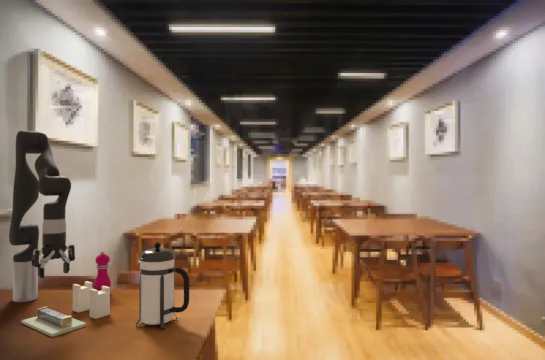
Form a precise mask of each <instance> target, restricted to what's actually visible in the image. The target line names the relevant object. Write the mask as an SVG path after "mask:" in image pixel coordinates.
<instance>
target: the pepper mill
mask: <svg viewBox="0 0 545 360" xmlns="http://www.w3.org/2000/svg"><path fill="white" fill-rule="evenodd" d="M95 257H96V258H95V263H96V264H97V265H96V269H97V274H96V277H95V280H94V282H93V289H95V290H98V291H101V290H102V286H107V287H110V288H111V286H112V285H111V284H112V281H111V278H110V276H109V274H108V268H109V263H110V260H111V258H110V256H109V255H108V254H106V252H105V250H100V254H98V255H96V256H95Z"/></svg>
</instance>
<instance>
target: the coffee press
mask: <svg viewBox="0 0 545 360" xmlns="http://www.w3.org/2000/svg"><path fill="white" fill-rule="evenodd" d="M161 246H162V245H161V243H160V241H159V242H155V243H154V244H153V247H154V248H149V249H145V250H144V251H142V252H141V254H140V256H139V257H138V261H137V263H138V264H139V291H138V292H139V303H138V306H139V309H138V310H139V311H138V312H139V313H138V320H137V322H136V323H135V326H136V328H138V329H140V328H141V327H142V325H150V326H151V325H152V326H156V325H158V327H159V330H160V329H161V330H160V331H163V330H162V329H164V330H166V326H165V324H166V323H168V322H170V321H171V320H172V321H174V320H173V318H174V317H175V318H176V319H177V320H178V317H177V316H176V314H175V313H182V312H184V311H186V309H187V308H188V307H189V303H190V277H189V274H188V272H187V271H186V270H185V269H183V268H180V267H176V266H175V259H176V255H175V253H174V251H173V250H171V249H169V248H165V247H164V248H163V247H161ZM175 273H176V274H180V275H181V277H182V279H183V303H182V305H181V307H179V306H178V307H175ZM140 322H141V323H140ZM139 323H140V324H139Z"/></svg>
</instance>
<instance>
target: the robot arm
mask: <svg viewBox="0 0 545 360" xmlns="http://www.w3.org/2000/svg"><path fill="white" fill-rule="evenodd" d="M27 154H30V155H33V154H34V155H38V157H37V158H36V160H35V161H34V169H35V172H36V174H35V173H34V172H33V170H32V169H31V168H30V165H29V163H28V161H27ZM60 174H61V173H60V171H59V168H58V166H57V165H56V162H55V160H54V157H53V151H52V147H51V143H50V140H49V137H48V135H47V133H45V132H42V131H37V130H18V131H17V133H16V136H15V170H14V179H13V189H12V190H13V191H12V211H11V218H10V219H11V220H10V223H9V224H10V226H9V231H8V241H9V244H10V245H12V246H26V245H28V246H27V248H24V250H23V249H22V250H21V251H19V252H16V253H15V254H14V255H12V256H13V257H12V302H14V303H25V302H32V301H34V300H37V299H38V298H39V297H38V296H39V295H38V294H39V288H38V287H39V279H44V278H45V265H46V264H47V263H48V262H49V261H50V260H51V261H53V260H55V259H56V260H57V259H61V260H62V261H63V265H62V268H63V269H62V270H63V273H64V274H69V272H70V267H71V266H70V265H71V264H70V263H71V262H72V261H75V259H76V251H75V249H76V247H75V245H74V244H71V243H70V244H68V245H66V243H67V222H66V206H67V203H68V199H69V195H70V192H71V189H72V182H71V180H70V178H69V177H67V176H62V175H61V176H60ZM36 175H37V176H36ZM39 194H40V195H42V196H45V197H50V196H54V197H55V196H57V198H56V199H55V200H53V201H48V202H46V203H44V205H43V208H42V209H43V218H42V219H43V221H42V233H41V235H42V238H41V239H42V240H41V241H42V247H41V249H39V239H40V238H39V237H40V229H39V225H38V224H37V223H36V222H33V223H32V222H31V223H21V222H22V220H23V218H24V216H25V215H26V214H27V213H28V211H29V210H30V209H31V208H32V207H33V206H34V205H35V203H36V202H37V201H38V199H39ZM66 251H67V254H66V253H65V252H66ZM41 254H42V255H41ZM40 256H41V258H40Z"/></svg>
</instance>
